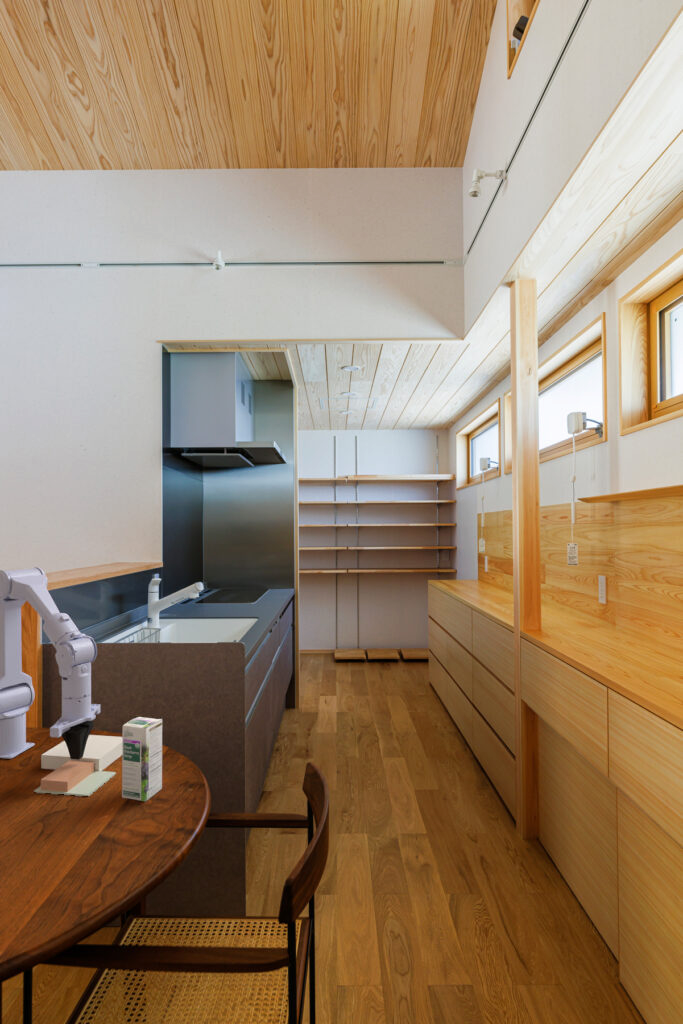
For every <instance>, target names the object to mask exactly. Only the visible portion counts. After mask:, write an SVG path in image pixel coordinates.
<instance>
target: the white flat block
mask: <svg viewBox="0 0 683 1024" xmlns="http://www.w3.org/2000/svg"><path fill="white" fill-rule="evenodd" d="M120 757H122V736H112V735H100V734H99V735H97V734H89V736H88V739H87V743H86V746H85V750H84V754H83V757H82V758H81V759H79V760H77V759H71V758H70V755H69V751H68V748H67V745H66V743H65V741H64V740H63V741H61V742H60V743H59V744H57V745H55V746H54V747H52V748H51V749H48V750H47V751H46V752H44V753H42V754H41V757H40V760H41V761H40V765H41V767H40V769H44V770H56V769H57V768H59V767H60V766H62V765H63V764H65V763H66V762H68V761H82V762H94V771H104V770H105V769H106V768H108V767H109V766H110V765H111V764H112V763H114V762H115V761H116V760H118V759H119V758H120Z"/></svg>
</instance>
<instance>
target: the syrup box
mask: <svg viewBox="0 0 683 1024" xmlns="http://www.w3.org/2000/svg"><path fill="white" fill-rule="evenodd" d="M121 734H122V736H121V737H122V755H121V757H122V759H121V763H122V767H121V768H122V769H121V770H122V771H121V773H122V776H121V777H122V779H121V782H122V785H121V797H122V799H129V800H135V801H141V802H144V803H145V802H147V801H148V800H150V798H152V797H153V796H155V795H156V794H158V793H159V791H161V790H162V789H163V718H152V717H142V716H138V717H136V718H135V717H134V718H132V719H131V720H129V721H127V722H126V723H124V724H123V725H122V733H121Z"/></svg>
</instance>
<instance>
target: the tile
mask: <svg viewBox="0 0 683 1024" xmlns="http://www.w3.org/2000/svg"><path fill="white" fill-rule="evenodd" d="M93 772H94V762H82V761H68V762H66V763H65V764H63V765H62V766H60V767H59V768H57V769H56V770H55V769H53V771H52V772H50V773H49V774H47V775H45V776H44V777H42V778H41V779H40V786H41V790H51V791H64V792H68V791H69V790H71V789H72V788H73V787H74V786H76V785H77V784H78V783H80V782H81V781H82V780H84V779H85V778H86V777H88V776H89V775H90V774H92V773H93Z"/></svg>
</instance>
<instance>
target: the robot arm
mask: <svg viewBox="0 0 683 1024" xmlns="http://www.w3.org/2000/svg"><path fill="white" fill-rule="evenodd" d="M26 602H28V603H29V605H30V606H31V607H32V608H33V609H34V610H35V612H36V613H37V614H38V616H39V617H40V619H42V620H43V621H44V623H43V625H42V630H43V631H44V632H43V633H45V635H46V636H47V638H48V639H49V641H50V642H51V644H52V646H53V647H54V649H55V650H56V653H55V654H54V655H55V656H54V657H55V661H56V664H57V665H58V674H59V676H60V677H61V717H60V718H59V719H58V720H57V721H56V722H55V723H54V724H53V725H52V726H50V727H49V736H50V738H61V737H62V739H63V741H65V743H66V745H67V748H68V751H69V755H70V758H71V759H77V760H79V759H81V758H82V757H83V754H84V750H85V746H86V743H87V739H88V736H89V735H91V734H90V733H91V731H92V730H93V729H94V727H95V721H94V720H95V719H96V715H99V714H100V713H101V703H100V704H97V703H92V663H93V662H95V660H96V658H97V654H98V647H97V643H96V641H95V640H94V638H93V637H91V636H89V635H86V634H85V633H82V632H81V631H80V630H79V628H78V627H77V626H76V624H75V623H74V621H73V620H72V618H71V617H70V616H69V614H67V613H64V612H60V610H59V608H58V607H57V604H56V603H55V601H54V599H53V598H52V595H51V594H50V592H49V590H48V576H47V575H46V573H45V571H44V570H43V569H42V568H41V567H38V566H35V567H32V568H21V569H20V568H18V569H8V570H3V569H1V570H0V759H13V758H15V757H17V756H18V755H20V754H21V753H24V752H25V751H27V750H29V749H30V748H32V747H34V746H35V743H34V742H27V715H26V714H27V712H29V710H30V707H31V706H32V705H33V704H34V700H35V695H36V692H35V689H34V686H33V677H31V675H29V674H27V673H25V672H23V668H22V667H23V666H22V664H23V663H22V661H23V660H22V659H23V658H22V656H23V655H22V607H23V605H24V604H25V603H26Z"/></svg>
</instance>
